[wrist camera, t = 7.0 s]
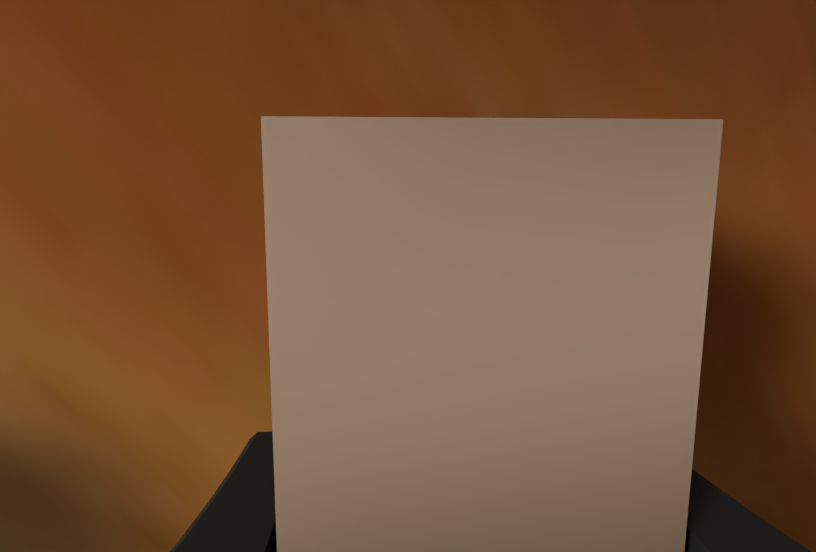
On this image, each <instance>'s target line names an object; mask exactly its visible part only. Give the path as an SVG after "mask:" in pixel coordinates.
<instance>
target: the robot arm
mask: <svg viewBox="0 0 816 552" xmlns="http://www.w3.org/2000/svg"><path fill="white" fill-rule="evenodd" d="M170 552H277V541H276V513H275V486H274V459H273V432H257V433H256V434H255V435H254V436H253V437H252V438H251V439H250V440H249V441H248V443H247V445H246V446H245V448H244V450H243V451H242V453H241V455H240V456H239V458H238V459H237V461H236V462H235V464H234V466H233V467H232V469H231V470H230V472H229V473H228V475H227V476H226V478H225V479H224V480H223V482H222V483H221V485H220V486H219V488H218V489H217V491H216V492H215V494H214V495H213V496H212V498H211V499H210V500H209V502H208V503H207V504H206V506H205V507H204V509H203V510H202V511H201V513H200V514H199V515H198V517H197V518H196V519H195V521H194V522H193V523H192V525H191V526H190V527H189V529H188V530H187V531H186V533H185V534H184V535H183V537H182V538H181V539H180V540H179V542H178V543H177V544H176V545H175V547H174V548H173V549H172V550H171V551H170ZM684 552H810V551H809V550H807V549H806V548H804V547H802V546H801V545H799V544H798V543H796V542H795V541H793V540H792V539H790V538H789V537H787V536H786V535H784V534H783V533H781V532H780V531H778V530H777V529H775V528H774V527H772V526H771V525H769V524H768V523H767V522H765V521H764V520H762V519H761V518H759V517H758V516H756V515H755V514H753V513H752V512H751V511H749V510H748V509H746V508H745V507H744V506H742V505H741V504H739V503H738V502H737V501H735V500H734V499H732V498H731V497H730V496H728V495H727V494H725V493H724V492H723V491H721V490H720V489H719V488H717V487H716V486H715V485H713V484H712V483H710V482H709V481H708V480H706V479H705V478H704V477H702V476H701V475H700V474H698V473H697V472H696V471H694V470H693V469H692V472H691V483H690V494H689V506H688V517H687V528H686V539H685V550H684Z"/></svg>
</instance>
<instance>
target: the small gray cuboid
mask: <svg viewBox="0 0 816 552" xmlns="http://www.w3.org/2000/svg"><path fill="white" fill-rule="evenodd" d="M722 127H723V119H583V118H428V117H273V116H261V131H262V158H263V186H264V213H265V240H266V267H267V295H268V322H269V349H270V377H271V404H272V431H273V459H274V486H275V513H276V541H277V552H684V550H685V539H686V528H687V517H688V506H689V494H690V483H691V472H692V461H693V450H694V439H695V428H696V417H697V405H698V394H699V383H700V372H701V361H702V350H703V339H704V328H705V316H706V305H707V294H708V283H709V272H710V261H711V250H712V239H713V228H714V216H715V205H716V194H717V183H718V172H719V161H720V150H721V139H722Z"/></svg>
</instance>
